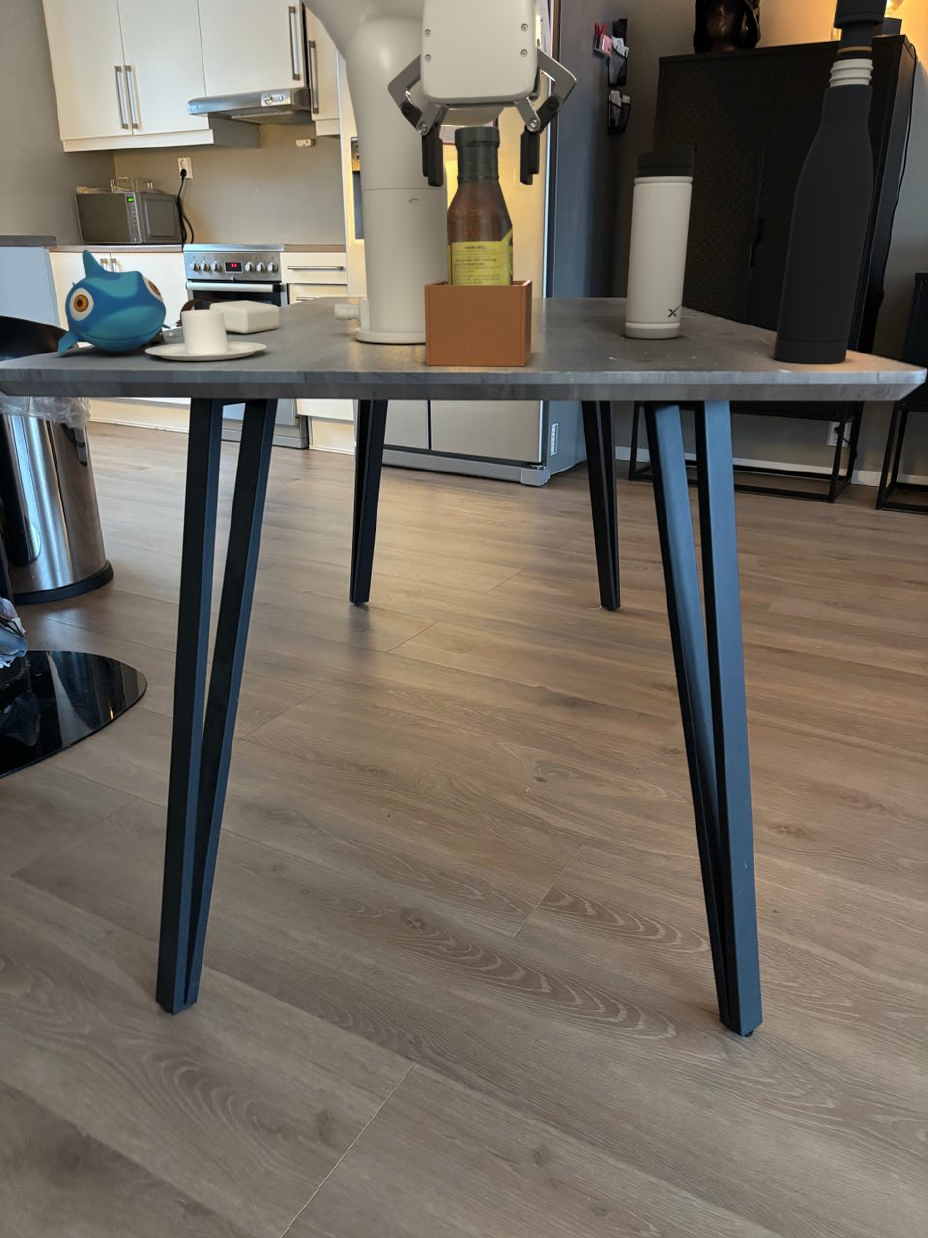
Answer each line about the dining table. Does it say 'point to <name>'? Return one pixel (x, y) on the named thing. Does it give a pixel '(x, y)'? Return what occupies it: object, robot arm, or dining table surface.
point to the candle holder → (205, 340)
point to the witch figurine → (176, 326)
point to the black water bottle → (832, 204)
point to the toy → (112, 309)
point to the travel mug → (659, 242)
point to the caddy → (478, 324)
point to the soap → (248, 316)
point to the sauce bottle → (479, 214)
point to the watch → (191, 303)
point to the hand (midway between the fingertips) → (480, 183)
